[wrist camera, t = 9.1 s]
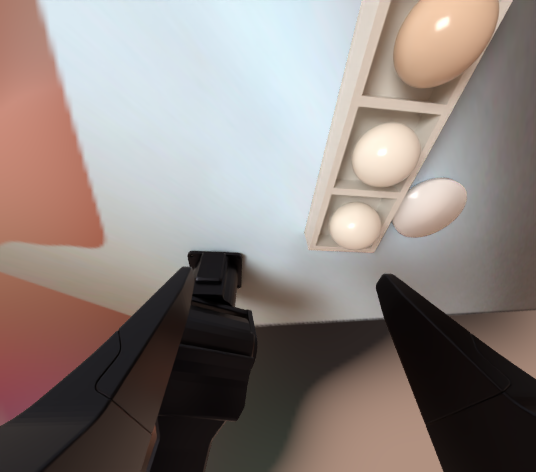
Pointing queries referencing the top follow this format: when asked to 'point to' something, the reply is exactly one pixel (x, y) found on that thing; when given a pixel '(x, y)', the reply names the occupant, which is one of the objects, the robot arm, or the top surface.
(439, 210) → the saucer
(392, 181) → the cream egg
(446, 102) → the carton
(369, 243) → the cream egg
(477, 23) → the brown egg
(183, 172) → the top surface
